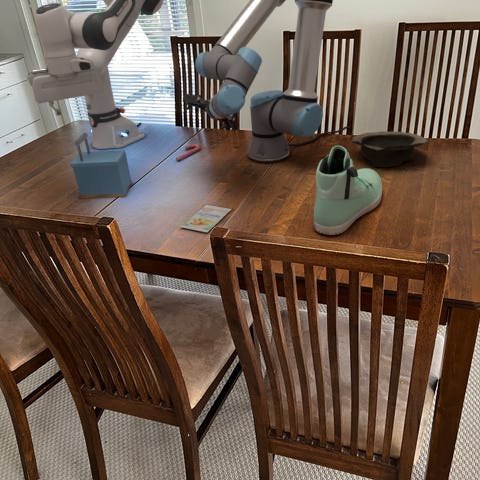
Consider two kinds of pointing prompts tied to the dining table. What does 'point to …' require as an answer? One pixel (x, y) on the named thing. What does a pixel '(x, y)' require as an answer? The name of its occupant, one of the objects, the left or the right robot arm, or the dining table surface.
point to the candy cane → (196, 148)
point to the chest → (103, 180)
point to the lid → (95, 155)
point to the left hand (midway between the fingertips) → (74, 112)
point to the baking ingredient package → (206, 218)
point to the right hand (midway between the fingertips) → (206, 116)
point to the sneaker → (343, 192)
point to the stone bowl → (388, 147)
